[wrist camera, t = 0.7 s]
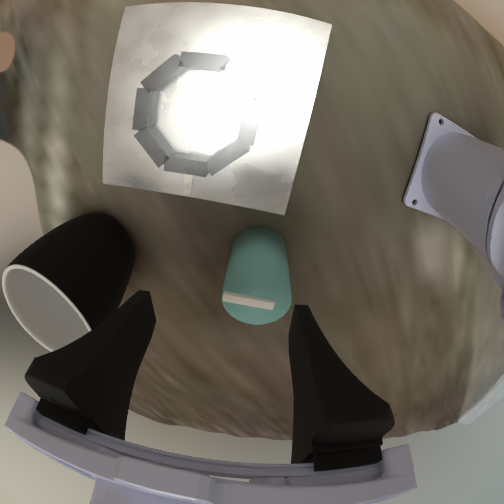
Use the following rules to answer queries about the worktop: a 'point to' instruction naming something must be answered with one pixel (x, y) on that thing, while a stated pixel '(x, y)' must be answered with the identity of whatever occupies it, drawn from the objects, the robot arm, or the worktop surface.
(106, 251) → the mug
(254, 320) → the knob
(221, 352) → the worktop surface
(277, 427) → the worktop surface
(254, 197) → the panel
